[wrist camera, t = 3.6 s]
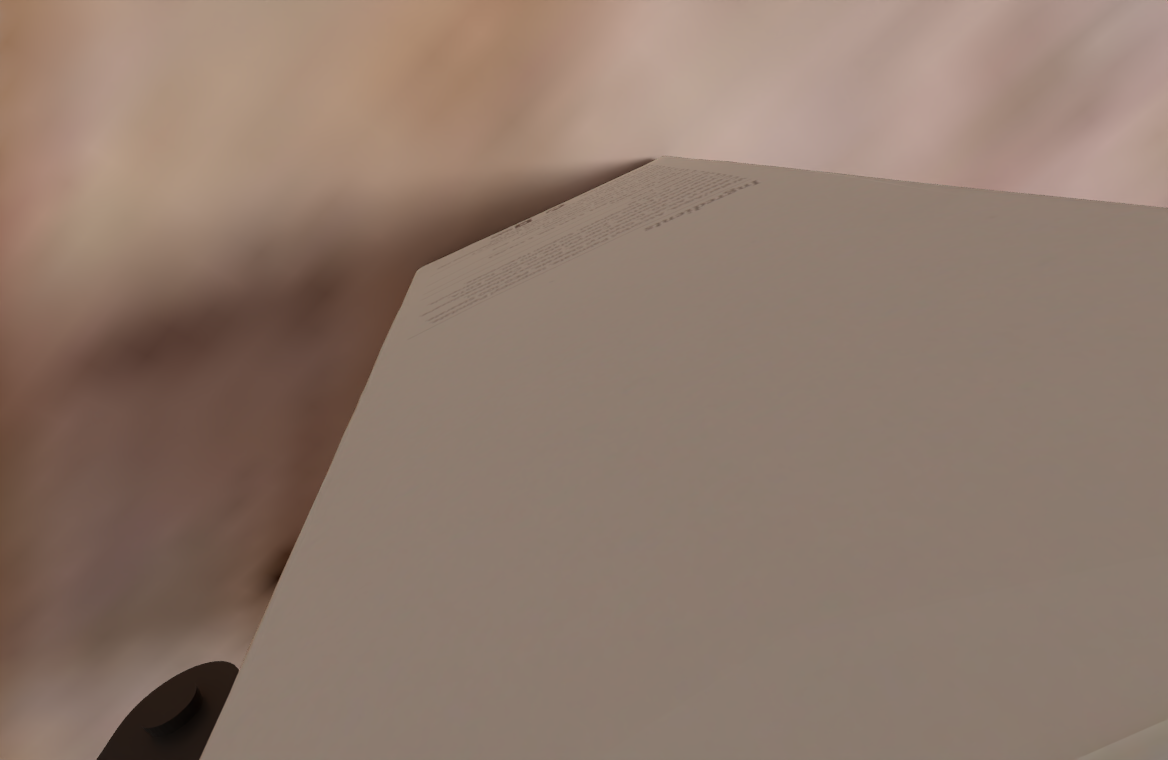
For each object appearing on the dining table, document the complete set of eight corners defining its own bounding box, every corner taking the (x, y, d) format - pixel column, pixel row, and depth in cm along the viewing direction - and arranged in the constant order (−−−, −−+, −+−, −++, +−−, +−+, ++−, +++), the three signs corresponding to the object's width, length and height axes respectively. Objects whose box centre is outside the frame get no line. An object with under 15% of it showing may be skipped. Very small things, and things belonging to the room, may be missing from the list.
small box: (410, 267, 13) (-240, 1454, 1) (667, 148, 13) (2488, 231, 1) (556, 528, 16) (753, 1537, 5) (761, 434, 16) (1502, 1207, 5)
